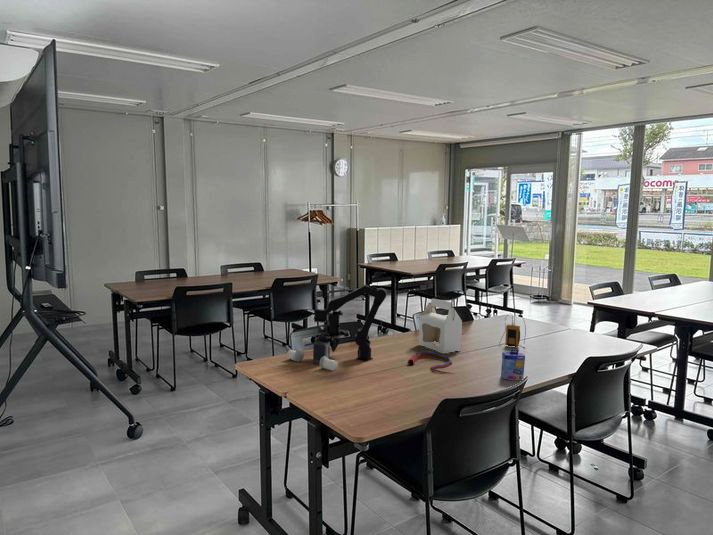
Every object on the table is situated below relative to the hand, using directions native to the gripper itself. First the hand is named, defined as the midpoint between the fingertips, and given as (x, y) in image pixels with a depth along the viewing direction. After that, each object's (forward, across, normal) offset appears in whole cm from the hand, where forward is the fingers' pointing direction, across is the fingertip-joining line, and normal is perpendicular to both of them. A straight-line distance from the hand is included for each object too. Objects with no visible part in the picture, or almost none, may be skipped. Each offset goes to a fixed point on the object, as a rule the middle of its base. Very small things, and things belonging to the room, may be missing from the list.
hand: (333, 351), depth 274 cm
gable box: (+4, -56, +32) cm, 65 cm away
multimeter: (+4, -91, +63) cm, 110 cm away
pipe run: (+3, +17, 0) cm, 18 cm away
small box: (+3, +9, 0) cm, 10 cm away
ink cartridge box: (+3, -31, +86) cm, 91 cm away
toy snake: (+4, -26, +48) cm, 55 cm away
